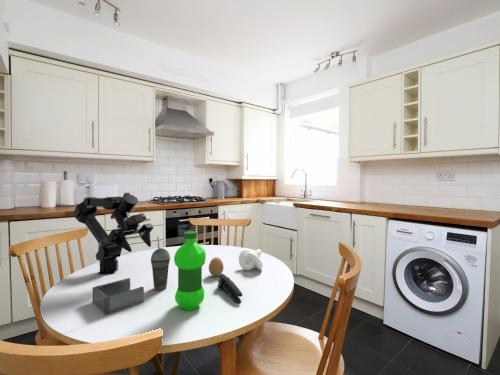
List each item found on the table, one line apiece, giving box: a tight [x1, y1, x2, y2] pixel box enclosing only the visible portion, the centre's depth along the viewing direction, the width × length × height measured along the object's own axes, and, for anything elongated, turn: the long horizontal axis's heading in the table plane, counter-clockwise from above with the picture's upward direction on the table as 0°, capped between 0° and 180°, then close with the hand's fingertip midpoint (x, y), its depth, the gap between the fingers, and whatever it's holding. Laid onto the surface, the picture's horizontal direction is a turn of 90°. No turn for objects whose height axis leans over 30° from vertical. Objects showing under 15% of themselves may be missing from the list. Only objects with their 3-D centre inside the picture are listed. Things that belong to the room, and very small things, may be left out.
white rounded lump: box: [238, 248, 264, 271], centre depth 126 cm, size 11×12×9 cm
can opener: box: [217, 273, 243, 304], centre depth 98 cm, size 18×7×6 cm, turn 26°
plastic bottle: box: [173, 230, 207, 311], centre depth 87 cm, size 10×10×25 cm
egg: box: [208, 257, 224, 277], centre depth 115 cm, size 6×6×8 cm
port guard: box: [92, 277, 145, 316], centre depth 90 cm, size 12×12×5 cm
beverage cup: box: [150, 237, 171, 292], centre depth 101 cm, size 7×7×20 cm
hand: (140, 248), depth 106 cm, fingers open, 9 cm apart
